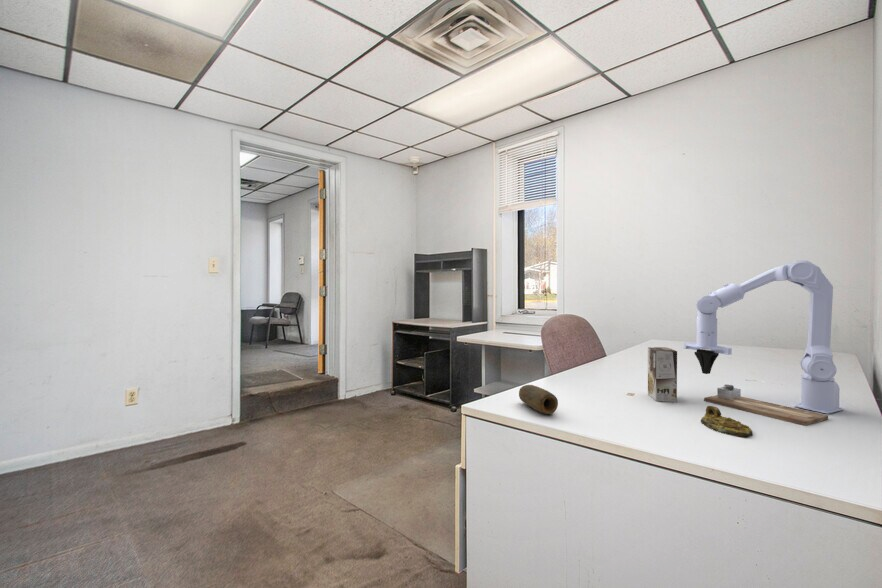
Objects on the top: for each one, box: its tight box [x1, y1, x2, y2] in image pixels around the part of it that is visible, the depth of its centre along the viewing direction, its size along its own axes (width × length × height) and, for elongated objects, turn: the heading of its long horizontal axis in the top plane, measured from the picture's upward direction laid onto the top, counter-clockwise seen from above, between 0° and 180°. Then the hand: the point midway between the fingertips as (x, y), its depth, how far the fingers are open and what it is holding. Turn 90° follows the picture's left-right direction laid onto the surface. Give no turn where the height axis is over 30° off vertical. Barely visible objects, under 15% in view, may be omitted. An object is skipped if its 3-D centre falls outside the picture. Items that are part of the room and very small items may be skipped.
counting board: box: [703, 394, 829, 426], centre depth 120 cm, size 12×26×1 cm, turn 25°
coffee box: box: [647, 346, 678, 403], centre depth 133 cm, size 9×6×16 cm
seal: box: [700, 405, 753, 438], centre depth 105 cm, size 9×5×15 cm
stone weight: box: [518, 384, 559, 415], centre depth 122 cm, size 15×7×7 cm, turn 19°
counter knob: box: [716, 384, 742, 401], centre depth 129 cm, size 5×4×4 cm
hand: (706, 373), depth 135 cm, fingers closed
